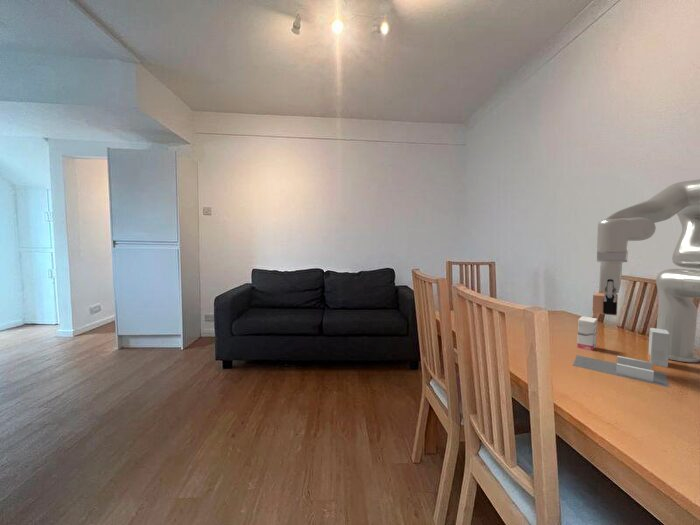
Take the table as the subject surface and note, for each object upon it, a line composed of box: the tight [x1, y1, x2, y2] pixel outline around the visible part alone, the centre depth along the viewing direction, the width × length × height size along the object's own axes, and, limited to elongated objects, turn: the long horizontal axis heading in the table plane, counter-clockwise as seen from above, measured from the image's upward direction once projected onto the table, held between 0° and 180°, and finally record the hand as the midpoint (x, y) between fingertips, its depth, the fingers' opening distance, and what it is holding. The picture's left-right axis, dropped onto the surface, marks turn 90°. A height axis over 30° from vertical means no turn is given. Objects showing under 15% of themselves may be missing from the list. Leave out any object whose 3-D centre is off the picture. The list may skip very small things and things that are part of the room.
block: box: [592, 292, 619, 317], centre depth 100 cm, size 6×6×6 cm
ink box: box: [576, 315, 598, 351], centre depth 116 cm, size 9×5×12 cm, turn 133°
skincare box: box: [647, 327, 670, 368], centre depth 100 cm, size 6×4×12 cm
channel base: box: [572, 355, 671, 388], centre depth 95 cm, size 12×22×4 cm, turn 47°
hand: (610, 311), depth 99 cm, fingers closed on block, 5 cm apart
